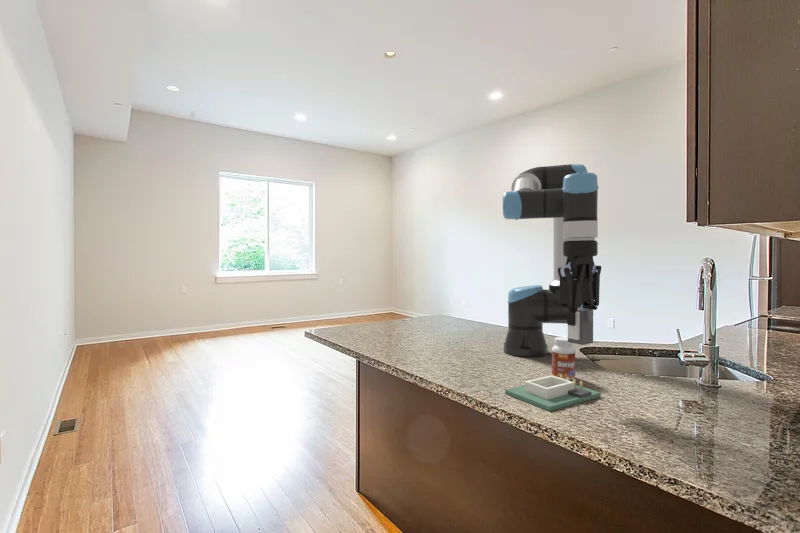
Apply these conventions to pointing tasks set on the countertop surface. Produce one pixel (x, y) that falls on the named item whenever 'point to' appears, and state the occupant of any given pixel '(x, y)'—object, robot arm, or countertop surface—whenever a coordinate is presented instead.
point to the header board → (552, 392)
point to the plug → (585, 327)
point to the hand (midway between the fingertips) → (580, 337)
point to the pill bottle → (563, 359)
